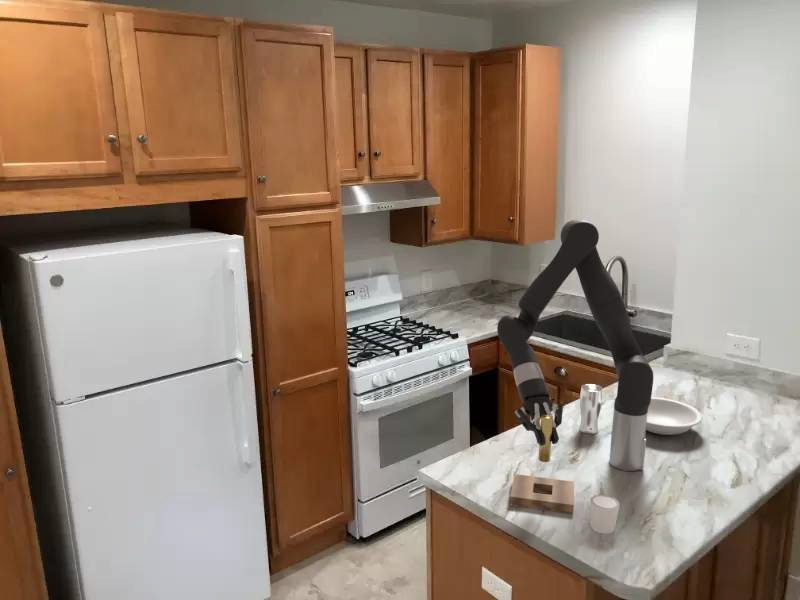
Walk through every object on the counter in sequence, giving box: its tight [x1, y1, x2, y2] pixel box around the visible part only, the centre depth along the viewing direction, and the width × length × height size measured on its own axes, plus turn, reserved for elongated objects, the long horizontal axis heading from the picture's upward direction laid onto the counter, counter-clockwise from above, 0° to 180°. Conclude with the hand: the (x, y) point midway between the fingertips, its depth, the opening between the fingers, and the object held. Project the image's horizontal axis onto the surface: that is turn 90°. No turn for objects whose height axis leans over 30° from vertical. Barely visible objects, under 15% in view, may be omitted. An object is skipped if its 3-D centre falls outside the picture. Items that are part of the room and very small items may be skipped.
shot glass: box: [589, 494, 620, 535], centre depth 155 cm, size 7×7×7 cm
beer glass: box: [578, 383, 603, 435], centre depth 208 cm, size 7×7×15 cm
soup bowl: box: [646, 396, 703, 436], centre depth 209 cm, size 24×24×7 cm
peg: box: [537, 415, 554, 463], centre depth 165 cm, size 3×3×12 cm
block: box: [509, 473, 575, 515], centre depth 169 cm, size 16×12×2 cm
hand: (549, 443), depth 164 cm, fingers closed on peg, 3 cm apart
